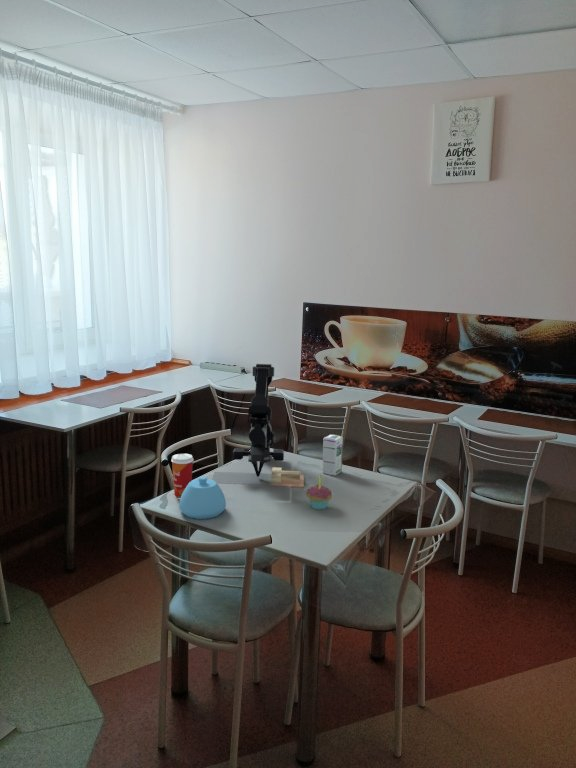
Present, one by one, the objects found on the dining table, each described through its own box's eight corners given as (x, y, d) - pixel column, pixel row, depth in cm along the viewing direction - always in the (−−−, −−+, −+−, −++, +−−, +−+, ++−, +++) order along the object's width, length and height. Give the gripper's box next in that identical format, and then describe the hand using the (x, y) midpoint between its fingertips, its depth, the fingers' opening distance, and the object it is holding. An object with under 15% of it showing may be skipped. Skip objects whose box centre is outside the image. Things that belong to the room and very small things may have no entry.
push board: (214, 472, 240) (214, 471, 240) (303, 475, 240) (303, 474, 240) (210, 484, 228) (210, 483, 228) (303, 487, 228) (303, 486, 228)
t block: (272, 474, 239) (272, 467, 238) (300, 475, 238) (300, 468, 238) (270, 484, 229) (271, 476, 228) (299, 485, 228) (300, 477, 228)
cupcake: (332, 512, 207) (333, 477, 205) (306, 511, 207) (307, 477, 204) (330, 501, 215) (331, 468, 213) (305, 501, 215) (306, 468, 213)
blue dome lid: (185, 523, 195) (185, 488, 193) (175, 505, 209) (174, 472, 207) (231, 517, 201) (231, 483, 199) (218, 500, 215) (218, 467, 212)
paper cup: (170, 491, 220) (169, 453, 217) (192, 490, 223) (191, 452, 220) (173, 500, 213) (172, 460, 210) (195, 498, 215) (195, 459, 212)
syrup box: (335, 476, 240) (337, 439, 238) (321, 473, 243) (323, 437, 240) (341, 471, 245) (343, 436, 242) (328, 469, 248) (329, 433, 245)
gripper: (231, 441, 223) (230, 483, 226) (283, 443, 223) (282, 484, 226) (234, 432, 234) (233, 472, 237) (284, 434, 234) (283, 474, 237)
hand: (258, 476), depth 234 cm, fingers closed
